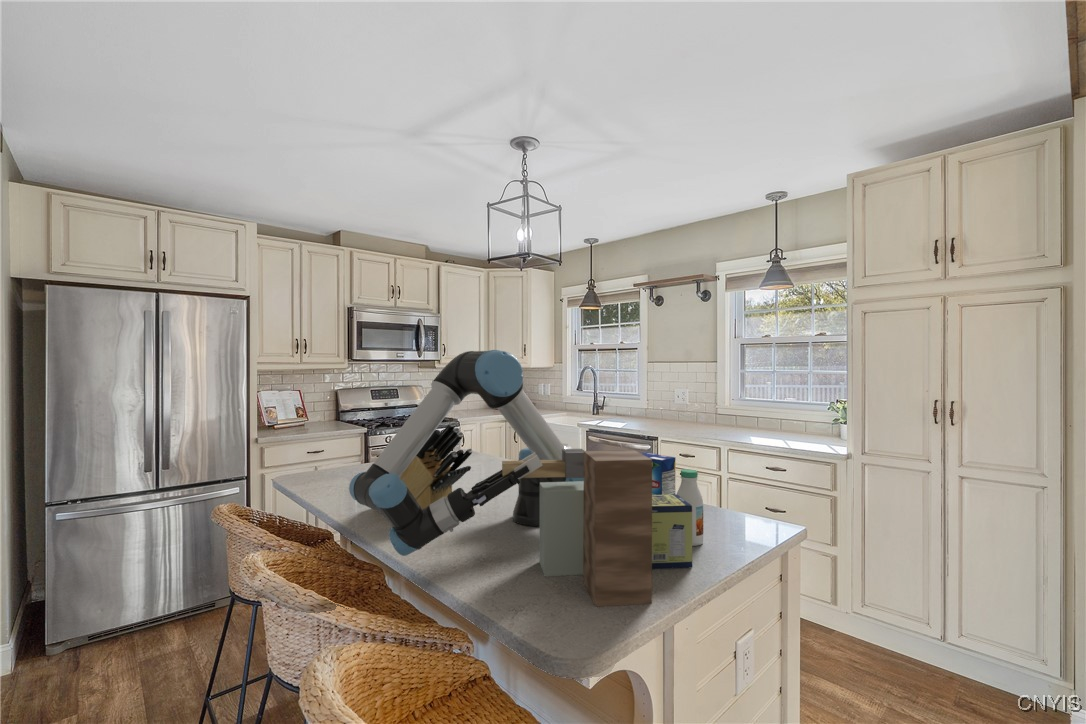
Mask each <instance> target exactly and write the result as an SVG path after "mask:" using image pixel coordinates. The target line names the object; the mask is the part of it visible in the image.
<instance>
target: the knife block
mask: <svg viewBox="0 0 1086 724" xmlns="http://www.w3.org/2000/svg"><path fill="white" fill-rule="evenodd" d="M463 437H464V433H463V432H462V431H461V430H460V428H459V427H456V423H455V421H451V422H449V423H448V425H447V426H446V427H445V428H444V429H443V430H442V431H440V430H439V429H436V430H435V431H434V432H433V434H432V435H431V436H430V438H429V439H428V440H427V442H426V443H425V444H424V446H423V447H422V448H421V450H420V451H419V452H418V454H417V455H416V456H415V458H414V459H413V460H412V462H411V463H410V464H409V466H408V467H407V468H406V470H405V471H404V472H403V474H402V475H401V476H400V477H399V478H400V479H401V480H402V481H404V483H405V485H406V486H407V488H408V489H409V491H410V492H411V494H412V495H413V497H414V498H415V499H416V501H417V502H418V504H419V505H420V506H421V508H422V509H424V508H426V507H427V506H429V505H430V504H432V503H434V502H435V501H437V500H439V499H440V498H442V497H447V496H448V494H449V493H451V492H453V485H454V484H455V483H456V482H458V481H459V480H460V479H462V477H463V476H464V475H466V473H467V472H470V471H471V469H472V466H470V465H467V466H463V467H460V466H461V465H462V464H464V463H465V461H467V459H469V457H470V456H471V455H472V453H473V450H472V448H468V449H467V450H463V449H459V450H457V451H455V450H454V449H455V447H457V445H458V444H459V443H460V442H461V440H462V439H463ZM453 450H454V451H453ZM464 451H465V452H464ZM459 467H460V468H459Z"/></svg>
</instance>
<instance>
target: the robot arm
mask: <svg viewBox="0 0 1086 724" xmlns="http://www.w3.org/2000/svg"><path fill="white" fill-rule="evenodd" d="M523 372H524V371H523V367H522V364H521V363H520V361H519V359H518V358H517V357H516V356H515V355H513V354H512V353H511V352H508V351H504V350H498V349H492V350H467V351H465V352H462V353H459V354H458V355H457V356H455V357H454V358H452V359H451V360H450V361H449V362H448V363H447V364H446V365H445V366H444V367H443V368H442V369H441V370H440V372H439V373H437V375H436V377H435V378H434V379H433V380H432V382H431V383H430V386H431V389H430V390H429V391H428V393H427V394H426V395H425V397H423V400H421V402H420V403H419V404H418V405H417V407H416V408H415V409H414V411H413V412H412V414H410V416H409V417H408V418H407V420H406V421H405V422H404V424H402V426H401V427H400V429H398V431H397V432H396V433H395V434H394V436H393V437H392V439H391V440H390V442H388V444H387V445H386V446H385V447H384V448H383V450H382V452H381V453H380V454H378V457H377V458H376V459H375V460H374V461H373V463H372V464H371V465H370V466H369V467H368V469H367V470H366V471H362V472H360V473H357V474H355V476H353V477H352V479H351V480H350V483H349V485H348V486H349V487H348V491H349V495H350V496H351V498H352V499H353V500H355V502H357V503H358V504H359V505H362V506H366V507H368V508H370V509H371V510H373V511H375V512H377V513H380V514H381V515H383V517H384V518H385V519H386V520H387V522H388V523H389V524H390V525H391V526H392V527H391V528H390V529H388V537H389V541H390V543H391V545H392V546H393V549H394V550H395V551H396V553H397V554H398V555H400V556H403V557H405V556H408V555H411V554H412V553H414V552H415V551H419V550H421V549H422V548H423V547H425V546H427V545H428V544H429V543H431V542H432V541H434V540H436V539H437V538H439V537H440V536H442V535H445V534H446V533H447V532H448V531H449V532H450V533H451V532H453V531H454V529H455V528H456V527H458V526H459V525H460V523H464V522H466V521H468V520H469V519H471V518H473V517H474V516H475V515H476V511H475V508H474V507H476V506H478V505H479V507H483V506H484V505H485V504H487V503H488V502H489V501H491V500H493V499H495V498H496V497H497V496H499V495H500V494H502V493H505V492H506V491H508V490H509V489H510V488H512V487H514V486H516V485H518V495H517V498H516V502H515V505H514V507H513V511H512V519H513V521H514V522H515V521H516V522H518V523H517V524H519V523H520V524H519V525H522V524H524V525H523V526H528V525H530V526H531V527H540V482H574V481H584V478H566V477H541V478H523V477H524V476H526V475H528V474H529V473H531V472H533V471H534V470H536V469H538V468H539V467H541V466H543V465H542V463H541V461H540V460H562V449H573V448H572V446H571V445H569V444H568V443H562V442H561V440H560V438H559V437H558V436H557V435H556V433H555V432H554V430H553V429H552V428H551V426H550V425H549V424H548V422H547V421H546V420H545V418H544V417H543V415H542V414H541V413H540V411H539V410H538V408H537V406H535V404H534V402H532V400H531V399H530V398H529V396H528V395H527V394H526V392H525V391H524V388H525V381H524V375H523V374H522V373H523ZM471 394H473V395H479V396H480V398H481V399H482V400H483V402H484V403H485V404H486V405H487V407H489V408H490V409H491V410H497V411H498V412H499V413H500V414H501V415H502V416H503V418H504V419H505V420H506V422H507V423H508V425H510V427H511V428H512V429H513V431H514V433H516V434H517V435H518V437H519V439H521V441H522V442H523V444H524V445H525V446H526V447H525V448H522V449H520V450H519V452H518V460H517V461H521V460H528V461H526V462H525V463H523V464H521V465H519V466H518V467H516V468H514V469H513V470H514V471H515V472H514V471H511V472H510V473H508V474H506V475H504V476H503V477H502V469H500V470H498V471H497V472H495V473H493V474H492V475H490V476H488V477H487V478H485V479H482V480H481V481H479V482H477V483H475V484H474V485H473V486H472V487H471V490H470V491H468V492H465V490H464V489H463V487H458V488H456V489H455V490H452V492H451V493H449V494H448V496H447V497H442V498H440V499H439V500H437V501H435V502H434V503H432V504H430V505H429V506H427V507H426V508H424V509H422V508H421V506H420V505H419V504H418V502H417V501H416V499H415V498H414V497H413V495H412V494H411V492H410V491H409V489H408V488H407V486H406V485H405V483H404V481H402V480H401V479H400V478H399V477H400V476H401V475H402V474H403V472H404V471H405V470H406V468H407V467H408V466H409V464H410V463H411V462H412V460H413V459H414V458H415V456H416V455H417V454H418V452H419V451H420V450H421V448H422V447H423V446H424V444H425V443H426V442H427V440H428V439H429V438H430V436H431V435H432V434H433V432H434V431H435V430H437V429H438V427H439V426H440V425H441V423H442V422H443V420H444V419H445V418H446V416H447V415H448V414H449V412H450V411H451V410H452V408H453V407H455V406H457V405H460V404H461V403H462V401H463V400H464V399H465V398H466V397H468V396H469V395H471ZM516 522H515V523H516Z"/></svg>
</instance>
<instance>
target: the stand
mask: <svg viewBox="0 0 1086 724" xmlns="http://www.w3.org/2000/svg"><path fill="white" fill-rule="evenodd" d="M582 577H583V580H582V581H583V584H584V586H585V588H586V590H587V591H588V594H589V596H590V599H591V600H592V602H593V605H594V607H597V608H598V607H611V606H613V607H614V606H625V605H627V606H629V605H643V604H652V603H653V602H652V601H653V597H652V596H653V586H652V585H653V584H652V583H653V569H652V459H650V458H648V457H646V456H644V455H643V454H641V452H639V451H637V450H635V449H623V450H622V449H620V450H618V449H617V450H613V449H611V450H584V543H583V575H582Z"/></svg>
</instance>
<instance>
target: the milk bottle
mask: <svg viewBox="0 0 1086 724" xmlns="http://www.w3.org/2000/svg"><path fill="white" fill-rule="evenodd" d="M698 474H699V472H698V471H697V470H694V469H691V468H690V469H689V468H688V469H685V468H684V469H681V470H680V479H681V481H680V485H679V488H678V490H677V492H676V493H675V494H676V495H679V496H680V497H681V498H682V499H684V500H685V501H686V502H688V503H689V504H690V505H692V547H694V546H696V547H697V546H701V545H703V542H704V499H703V496H702V493H701V490H700V489H699V488H700V487H699V486H698V481H697V480H698V478H699V477H698Z"/></svg>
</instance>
